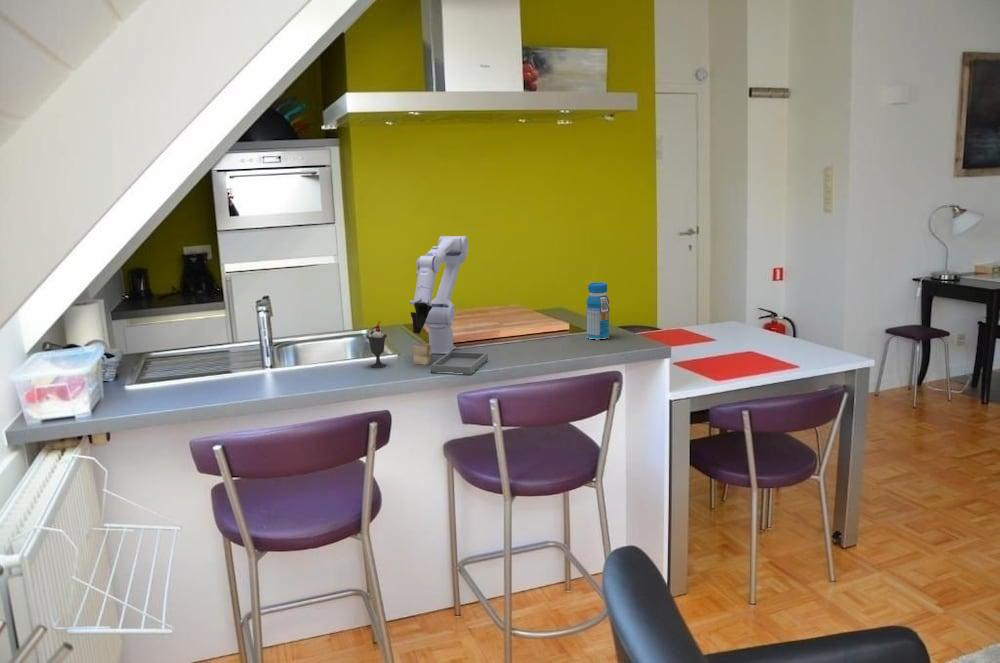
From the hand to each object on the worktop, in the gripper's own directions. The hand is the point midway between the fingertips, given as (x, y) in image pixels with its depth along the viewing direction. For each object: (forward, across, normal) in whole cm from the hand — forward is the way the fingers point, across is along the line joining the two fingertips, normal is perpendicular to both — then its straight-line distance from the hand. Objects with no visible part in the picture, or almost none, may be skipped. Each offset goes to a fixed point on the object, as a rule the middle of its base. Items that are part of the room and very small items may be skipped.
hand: (418, 330), depth 251 cm
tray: (+10, +1, +15) cm, 18 cm away
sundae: (+12, -9, -10) cm, 18 cm away
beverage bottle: (-14, -18, +66) cm, 70 cm away
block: (+9, -7, +4) cm, 12 cm away
